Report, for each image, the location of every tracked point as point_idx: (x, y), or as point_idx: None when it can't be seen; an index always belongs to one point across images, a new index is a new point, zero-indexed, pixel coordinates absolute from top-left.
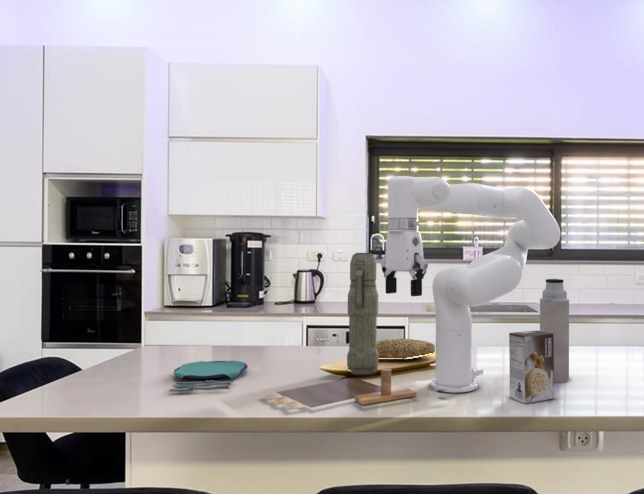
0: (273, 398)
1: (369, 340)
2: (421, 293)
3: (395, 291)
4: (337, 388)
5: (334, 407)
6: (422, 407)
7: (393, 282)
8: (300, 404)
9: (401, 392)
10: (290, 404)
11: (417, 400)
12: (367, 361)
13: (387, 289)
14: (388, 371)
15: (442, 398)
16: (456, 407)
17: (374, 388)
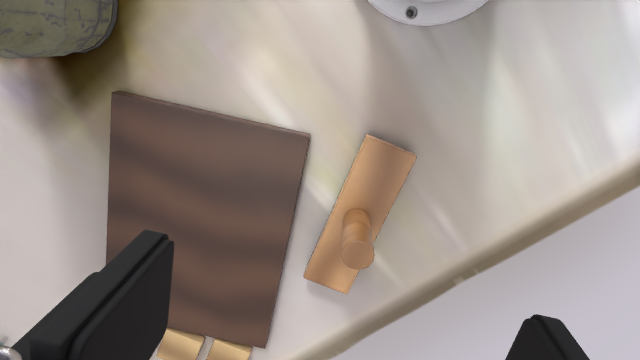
0: None
1: (11, 3)
2: (563, 333)
3: (168, 254)
4: (183, 213)
5: (280, 297)
6: (457, 187)
7: (116, 347)
8: (229, 347)
9: (384, 188)
10: (214, 357)
11: (411, 143)
12: (81, 25)
13: (147, 356)
14: (372, 260)
15: (464, 83)
16: (541, 135)
17: (261, 155)
